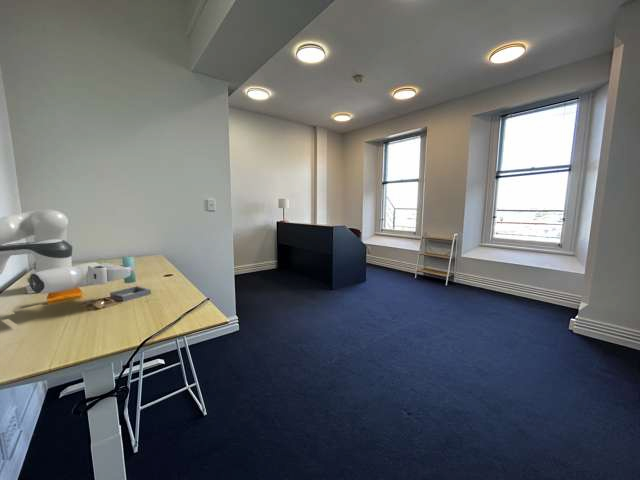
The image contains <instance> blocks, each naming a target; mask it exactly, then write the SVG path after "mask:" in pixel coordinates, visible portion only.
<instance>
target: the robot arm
mask: <svg viewBox="0 0 640 480" xmlns="http://www.w3.org/2000/svg"><path fill="white" fill-rule="evenodd" d="M68 225H69V220H68V217H67V216H66V215H65V214H64V213H63V212H61V211H59V210H57V209H56V210H55V209H36V210H29V211H26V212H20V213H18V214H17V213H16V214H12V215H8V216H3V217H0V275H2V274H3V272H4V270H5V268H6V266H7V265H6V264H7V263H8V261H9V260H10V257H11V256H19V255H30V254H31V255H32V256H33V257H34V262H33V269H34V271H33V272H32V273H31V274H30V276H29V277H27V278H26V282H27V283H29V284H28V285H26V286H25V289H26V293H27V294H41V295H43V294H48V293H54V292H60V291H66V290H70V289H73V288H75V287H79V288H81V287H82V288H84V287H90V286H96V285H107V284H108V282H114V281H119V280H122V279H123V280H124V278H126V277H129V276H130V271H132V270H136V266H135V265H134V266H129V267H123V264H113V263H109V262H104V263H98V262H95V261H94V262H92V261H91V262H87V263H80V264H76V265H73V260H72V259H73V258H72V255H73V246H72V245H71V244H70V243H69V242H68V241H67V235H68ZM33 236H34V240H33V241H31V242H30V241H29V242H18V241H21V240H23V239H26V238H29V237H33ZM13 242H17V243H13Z"/></svg>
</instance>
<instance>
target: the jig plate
mask: <svg viewBox="0 0 640 480" xmlns="http://www.w3.org/2000/svg"><path fill="white" fill-rule="evenodd" d="M97 301H104V302H105V308H104V309H106V308H111V307H113V306H118V305H120V304H121V305H122V301H119V300H118V301H117V300H116V299H114V298H111V297H106V296H105V297H102V298H97V299H94V300H89V301H85V302H82V303H80V306H83V307H86V308H89V309H90V310H92V311H99V310H101V309H98V310H96V309H95V305H94V302H97Z"/></svg>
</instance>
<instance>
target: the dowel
mask: <svg viewBox="0 0 640 480" xmlns="http://www.w3.org/2000/svg"><path fill="white" fill-rule="evenodd" d="M121 260H122V265H123V267H129V266H135V258H134V256H123V257H122V259H121ZM135 270H136V269H135ZM135 270H132V271H130V276H129V277H126V278H123V283H124V284H133V283H135V282H136V271H135Z"/></svg>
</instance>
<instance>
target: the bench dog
mask: <svg viewBox="0 0 640 480" xmlns="http://www.w3.org/2000/svg"><path fill="white" fill-rule="evenodd" d="M94 305H95V309H96V311H99V310H98V309H100V310H102V309H106V308H105V302H104V301H97V302H94Z"/></svg>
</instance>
